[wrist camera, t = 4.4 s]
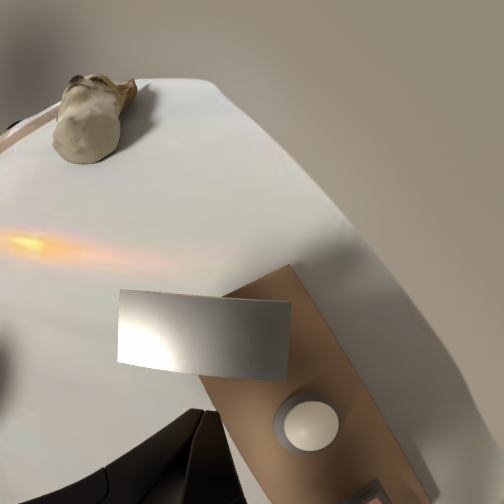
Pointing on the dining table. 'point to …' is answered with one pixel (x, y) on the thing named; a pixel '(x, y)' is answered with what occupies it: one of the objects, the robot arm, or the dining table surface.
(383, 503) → the rocker switch
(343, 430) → the switch panel
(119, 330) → the tan capped bar
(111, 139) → the ceramic sculpture
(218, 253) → the dining table surface
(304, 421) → the push button
